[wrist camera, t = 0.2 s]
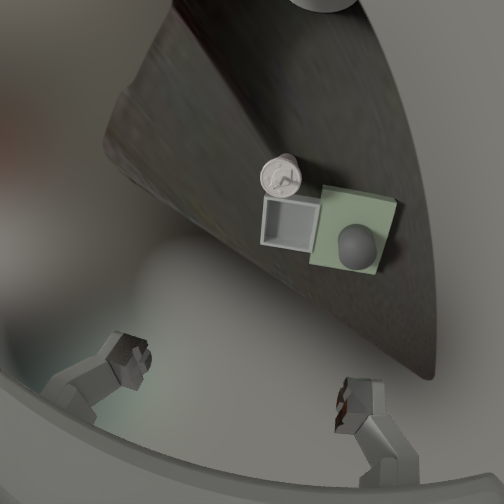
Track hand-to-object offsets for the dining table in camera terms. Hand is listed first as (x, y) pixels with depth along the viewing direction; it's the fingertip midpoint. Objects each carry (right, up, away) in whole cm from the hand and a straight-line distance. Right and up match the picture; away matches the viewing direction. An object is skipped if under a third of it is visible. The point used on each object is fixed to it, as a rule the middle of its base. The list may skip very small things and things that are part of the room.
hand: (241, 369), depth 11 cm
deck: (+15, +10, +47) cm, 50 cm away
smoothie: (+7, +21, +42) cm, 48 cm away
